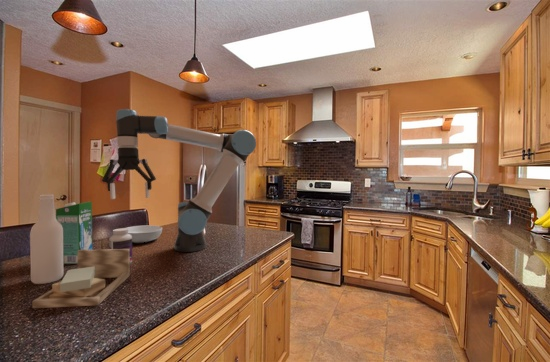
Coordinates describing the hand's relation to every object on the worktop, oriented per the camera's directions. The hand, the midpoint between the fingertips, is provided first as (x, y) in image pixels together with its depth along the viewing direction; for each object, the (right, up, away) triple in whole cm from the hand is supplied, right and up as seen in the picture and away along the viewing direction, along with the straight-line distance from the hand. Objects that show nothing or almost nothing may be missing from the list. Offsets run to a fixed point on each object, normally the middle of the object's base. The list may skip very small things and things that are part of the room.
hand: (130, 198), depth 113 cm
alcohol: (-19, -28, -19) cm, 38 cm away
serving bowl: (-12, -26, +34) cm, 45 cm away
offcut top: (+1, -24, -31) cm, 39 cm away
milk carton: (-25, -27, +2) cm, 36 cm away
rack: (0, -28, -26) cm, 38 cm away
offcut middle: (+1, -26, -31) cm, 40 cm away
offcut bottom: (+1, -29, -31) cm, 42 cm away
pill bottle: (-2, -27, -3) cm, 27 cm away
